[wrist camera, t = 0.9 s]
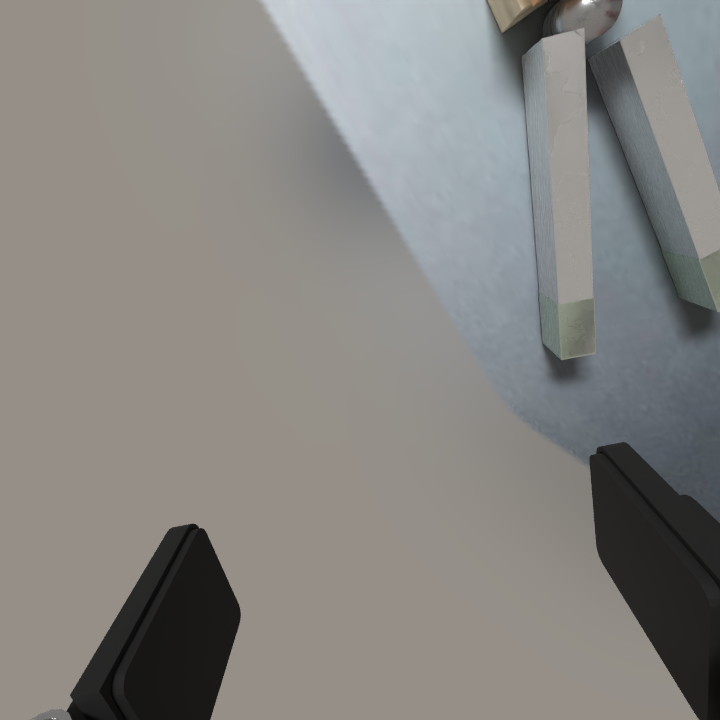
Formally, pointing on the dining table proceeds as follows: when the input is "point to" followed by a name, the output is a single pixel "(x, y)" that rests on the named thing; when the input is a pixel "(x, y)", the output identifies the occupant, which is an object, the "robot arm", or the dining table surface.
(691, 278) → the bar
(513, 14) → the hinge block
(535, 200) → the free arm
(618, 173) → the dining table surface
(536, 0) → the tab
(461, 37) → the dining table surface
